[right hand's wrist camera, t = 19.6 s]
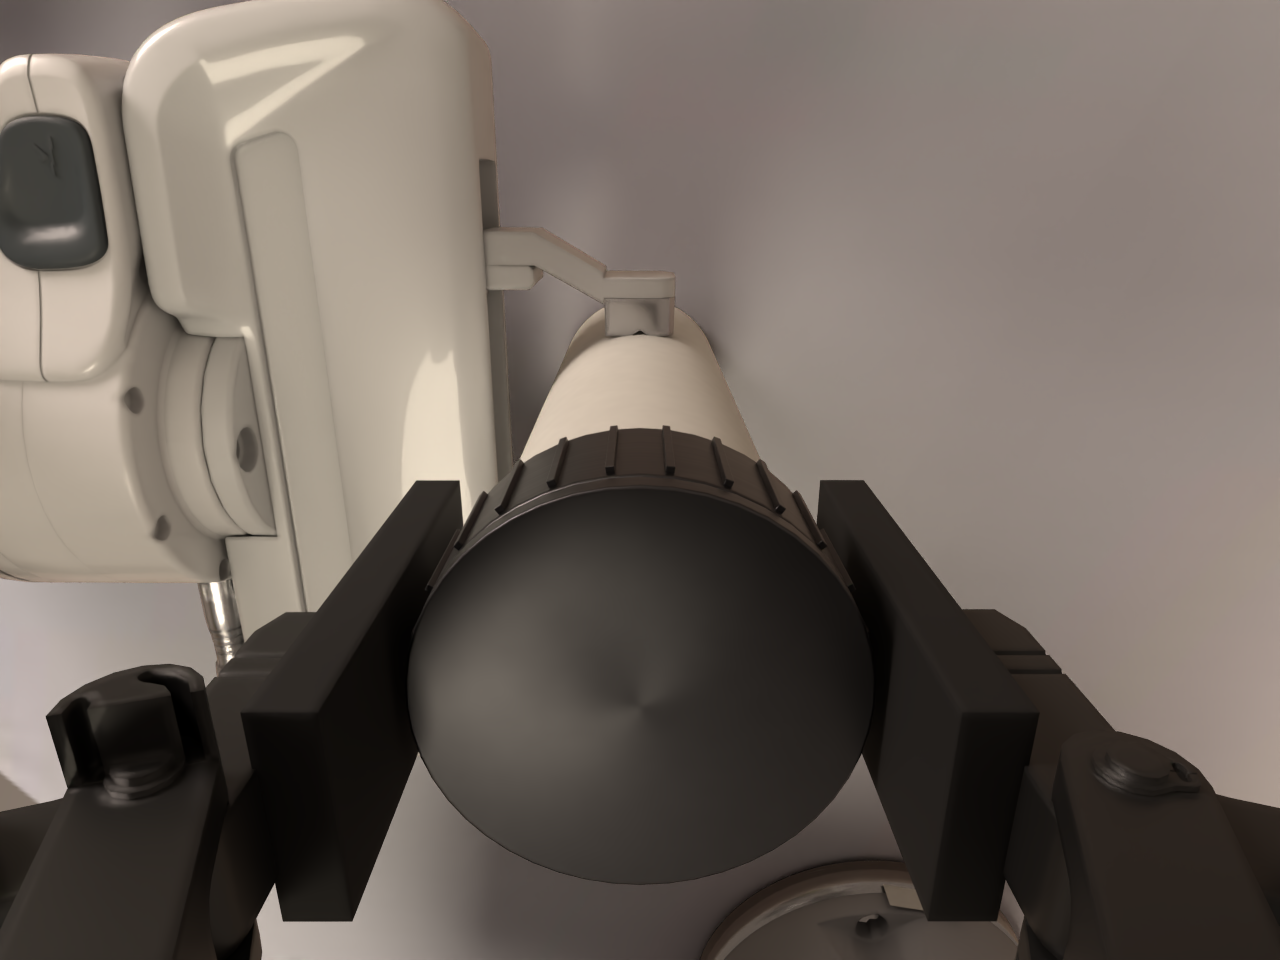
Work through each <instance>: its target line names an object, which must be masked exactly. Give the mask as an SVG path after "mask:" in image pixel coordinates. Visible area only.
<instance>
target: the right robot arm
mask: <svg viewBox="0 0 1280 960" xmlns="http://www.w3.org/2000/svg"><path fill="white" fill-rule="evenodd" d="M817 527H818V528H819V530H821V529H824V530H825V532H826V534H827V536H828V538H829V540H830V542H831V543H832V545H833V547H834V549H835V551H836V553H837V555H838V556H839V558H840V560H841V562H842V564H843V566H844V568H845V570H846V571H847V573H848V575H849V577H850V579H851V581H852V583H853V584H854V587H855V589H856V590H855V591H853V592H850V593H851V595H852V597H853V598H854V600H855V603H856V605H857V607H858V609H859V612H860V614H861V616H862V618H863V620H864V622H865V624H866V626H867V628H868V630H869V632H870V638H869V639H870V642H871V646H872V650H873V656H874V664H875V673H876V691H875V706H874V711H873V716H872V722H871V727H870V731H869V734H868V737H867V740H866V742H865V745H864V748H863V751H862V755H863V757H864V760H865V762H866V765H867V767H868V770H869V773H870V775H871V778H872V780H873V783H874V785H875V788H876V790H877V793H878V796H879V798H880V801H881V803H882V806H883V808H884V811H885V813H886V816H887V819H888V821H889V824H890V826H891V829H892V831H893V834H894V836H895V839H896V842H897V844H898V847H899V849H900V852H901V854H902V857H903V859H904V862H905V863H904V862H895V861H879V860H869V861H852V862H843V863H836V864H831V865H825V866H821V867H817V868H813V869H810V870H806V871H803V872H800V873H797V874H794V875H792V876H789V877H787V878H785V879H782V880H780V881H778V882H775V883H774V884H772V885H770V886H768V887H766V888H764V889H762V890H761V891H759V892H758V893H756V894H755V895H753V896H752V897H750V898H749V899H747V900H746V901H745V902H743V903H742V904H741V905H740V906H738V907H737V908H736V909H735V910H734V911H733V912H732V913H731V914H730V915H729V916H728V917H726V918H725V920H724V921H723V922H722V923H721V924H720V925H719V927H718V928H717V929H716V931H715V932H714V933H713V935H712V936H711V938H710V939H709V941H708V943H707V945H706V947H705V949H704V951H703V953H702V956H701V958H700V960H1280V808H1276V807H1271V806H1267V805H1262V804H1257V803H1252V802H1247V801H1243V800H1238V799H1233V798H1229V797H1225V796H1221V795H1217V794H1215V791H1214V789H1213V787H1212V786H1211V785H1210V783H1209V782H1208V781H1207V780H1206V778H1205V777H1204V776H1203V774H1202V773H1201V772H1200V771H1199V769H1197V768H1196V767H1195V766H1193V765H1192V764H1191V763H1189V762H1188V761H1187V760H1185V759H1184V758H1183V757H1181V756H1180V755H1178V754H1177V753H1176V752H1174V751H1171V750H1169V749H1167V748H1165V747H1163V746H1161V745H1159V744H1157V743H1155V742H1152V741H1150V740H1148V739H1144V738H1141V737H1137V736H1133V735H1130V734H1126V733H1123V732H1116V731H1115V730H1114V729H1113V728H1112V727H1111V726H1110V724H1109V723H1108V722H1107V721H1106V720H1105V719H1104V718H1103V716H1102V715H1101V714H1100V713H1099V712H1098V711H1097V709H1096V708H1095V707H1094V706H1093V705H1092V704H1091V703H1090V701H1089V700H1088V699H1087V698H1086V697H1085V696H1084V695H1083V693H1082V692H1081V691H1080V690H1079V689H1078V688H1077V687H1076V685H1075V684H1074V683H1073V682H1072V681H1071V680H1070V679H1069V677H1068V676H1067V675H1066V674H1062V672H1061V670H1062V669H1061V668H1060V667H1059V666H1058V665H1057V664H1056V662H1055V661H1054V660H1053V659H1052V658H1051V657H1050V656H1049V655H1046V654H1045V650H1044V649H1043V648H1042V646H1041V645H1040V644H1039V643H1038V642H1037V641H1036V640H1035V638H1034V637H1033V636H1032V635H1031V634H1030V633H1029V631H1028V630H1027V629H1026V628H1024V627H1023V626H1021V625H1019V624H1018V623H1016V622H1014V621H1013V620H1011V619H1009V618H1008V617H1006V616H1005V615H1003V614H1001V613H1000V612H998V611H996V610H995V609H961V608H960V607H959V605H958V604H957V603H956V601H955V600H954V599H953V597H952V596H951V595H950V593H949V592H948V591H947V589H946V588H945V587H944V585H943V584H942V583H941V582H940V580H939V579H938V578H937V576H936V575H935V574H934V572H933V571H932V570H931V568H930V567H929V566H928V564H927V563H926V562H925V560H924V559H923V558H922V556H921V555H920V554H919V553H918V551H917V550H916V549H915V547H914V546H913V545H912V543H911V542H910V541H909V539H908V538H907V537H906V535H905V534H904V533H903V531H902V530H901V529H900V528H899V526H898V525H897V524H896V522H895V521H894V520H893V518H892V517H891V516H890V514H889V513H888V512H887V510H886V509H885V508H884V506H883V505H882V504H881V502H880V501H879V500H878V499H877V497H876V496H875V495H874V493H873V492H872V491H871V489H870V488H869V487H868V485H867V484H866V483H865V481H864V480H820V490H819V502H818V514H817ZM462 528H463V514H462V502H461V490H460V480H416V481H415V483H414V484H413V485H412V487H411V488H410V489H409V491H408V492H407V493H406V495H405V496H404V497H403V499H402V500H401V501H400V503H399V504H398V505H397V506H396V508H395V509H394V510H393V512H392V513H391V514H390V516H389V517H388V518H387V520H386V521H385V522H384V524H383V525H382V526H381V528H380V529H379V530H378V531H377V533H376V534H375V535H374V537H373V538H372V539H371V541H370V542H369V543H368V545H367V546H366V547H365V549H364V550H363V551H362V553H361V554H360V555H359V557H358V558H357V559H356V560H355V562H354V563H353V564H352V566H351V567H350V568H349V570H348V571H347V572H346V574H345V575H344V576H343V578H342V579H341V580H340V582H339V583H338V584H337V585H336V587H335V588H334V589H333V591H332V592H331V593H330V595H329V596H328V597H327V599H326V600H325V601H324V603H323V604H322V605H321V607H320V608H319V609H318V611H317V612H285V613H283V614H282V615H280V616H279V617H277V618H275V619H274V620H272V621H270V622H269V623H267V624H266V625H264V626H262V627H261V628H259V629H257V630H256V631H254V632H253V634H252V635H251V636H250V637H249V638H248V639H247V641H246V642H245V643H244V644H243V645H242V646H241V648H240V649H239V650H238V651H237V652H236V653H235V658H231V659H230V660H229V661H228V663H227V664H226V665H225V666H224V667H223V668H222V669H221V671H220V672H219V677H215V678H214V679H213V680H212V681H211V682H210V683H209V684H208V686H207V687H206V688H205V684H204V679H203V676H201V675H200V674H199V673H197V672H196V671H195V670H193V669H192V668H190V667H185V666H179V665H173V664H161V665H146V666H140V667H136V668H132V669H128V670H123V671H119V672H115V673H112V674H110V675H107V676H105V677H102V678H100V679H97V680H95V681H93V682H90V683H88V684H85V685H84V686H82V687H80V688H79V689H77V690H76V691H74V692H73V693H71V694H69V695H68V696H66V697H65V698H63V699H61V700H60V701H59V703H58V704H57V705H56V706H55V707H54V708H53V709H52V710H51V711H50V712H49V713H48V715H47V716H46V719H47V722H48V726H49V729H50V732H51V735H52V739H53V742H54V745H55V748H56V752H57V755H58V758H59V762H60V765H61V768H62V771H63V775H64V778H65V781H66V784H67V788H68V789H67V791H66V793H65V795H64V797H63V798H61V799H58V800H54V801H50V802H45V803H40V804H36V805H31V806H26V807H21V808H17V809H12V810H7V811H2V812H0V960H261V957H262V947H261V940H260V933H259V929H258V924H257V920H256V918H257V916H258V914H259V912H260V910H261V908H262V906H263V904H264V902H265V901H266V899H267V897H268V895H269V893H270V891H271V889H272V887H273V885H274V883H275V885H276V890H277V895H278V899H279V904H280V909H281V914H282V919H283V921H353V918H354V916H355V913H356V911H357V908H358V906H359V903H360V900H361V898H362V895H363V893H364V890H365V888H366V885H367V882H368V880H369V877H370V875H371V872H372V870H373V867H374V865H375V862H376V859H377V857H378V854H379V852H380V849H381V847H382V844H383V842H384V839H385V836H386V834H387V831H388V829H389V826H390V824H391V821H392V819H393V816H394V813H395V811H396V808H397V806H398V803H399V801H400V798H401V796H402V793H403V790H404V788H405V785H406V783H407V780H408V778H409V775H410V773H411V770H412V767H413V765H414V762H415V760H416V757H417V755H418V752H419V751H418V748H417V746H416V743H415V740H414V737H413V734H412V732H411V727H410V722H409V717H408V712H407V707H406V693H405V673H406V664H407V655H408V650H409V646H410V642H411V632H412V630H413V628H414V626H415V624H416V622H417V620H418V618H419V616H420V614H421V612H422V609H423V607H424V605H425V603H426V600H427V598H428V597H429V595H430V593H429V592H427V591H425V589H426V586H427V584H428V582H429V581H430V579H431V577H432V575H433V573H434V571H435V569H436V567H437V566H438V564H439V562H440V560H441V558H442V556H443V554H444V552H445V551H446V549H447V547H448V545H449V543H450V541H451V539H452V537H453V536H454V534H455V532H456V530H457V529H459V530H462ZM1005 880H1006V881H1007V883H1008V885H1009V887H1010V889H1011V891H1012V893H1013V894H1014V896H1015V898H1016V900H1017V902H1018V904H1019V906H1020V908H1021V910H1022V911H1023V913H1024V920H1023V924H1022V929H1021V933H1020V938H1019V941H1018V939H1017V937H1016V935H1015V933H1014V931H1013V929H1012V927H1011V926H1010V924H1009V922H1008V920H1007V919H1006V917H1005V916H1004V915H1003V914H1002V912H1001V911H1000V910H999V909H1000V904H1001V900H1002V895H1003V890H1004V885H1005Z"/></svg>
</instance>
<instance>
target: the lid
mask: <svg viewBox="0 0 1280 960" xmlns="http://www.w3.org/2000/svg"><path fill="white" fill-rule="evenodd" d="M855 590H856V589H855V587H854V584H853V583H852V581H851V579H850V577H849V575H848V573H847V571H846V570H845V568H844V566H843V564H842V562H841V560H840V558H839V556H838V555H837V553H836V551H835V549H834V547H833V545H832V543H831V542H830V540H829V538H828V536H827V534H826V532H825V530H824V529H821V530H819V528H818V527H817V525H816V523H815V521H814V519H813V517H812V515H811V513H810V511H809V509H808V507H807V505H806V504H805V502H804V500H803V498H802V496H801V494H800V493H799V492H798V491H797V490H796V491H795V492H794V493H792V492H791V491H790V490H789V489H788V488H787V487H786V485H784V484H783V483H782V482H781V481H780V480H779V479H778V478H776V477H775V476H774V475H773V474H772V473H771V472H769V470H768V468H767V465H766V463H765V462H764V461H762V460H761V459H759V460H758V461H757V462H755V461H754V460H752V459H750V458H749V457H747V456H746V455H744V454H742V453H740V452H738V451H736V450H734V449H732V448H730V447H728V446H725V445H723V444H722V442H721V439H720V438H717V437H713V439H712V440H709V439H706V438H703V437H700V436H697V435H694V434H688V433H683V432H678V431H673V430H671V429H670V426H666V425H663V426H662V429H650V428H630V429H618V426H617V425H615V426H610V430H608V431H603V432H598V433H593V434H587V435H584V436H581V437H578V438H574V439H571V440H568V439H567V437H564V438H561V439H560V440H559V443H558V444H557V445H555V446H553V447H551V448H549V449H547V450H545V451H543V452H541V453H539V454H537V455H535V456H533V457H532V458H530V459H529V460H527V461H526V462H523V461H522V460H521V459H520V460H518V461H517V462H516V463H515V464H514V466H513V469H512V471H511V472H510V473H509V474H508V475H507V476H506V477H504V478H503V479H502V480H501V481H500V482H499V483H498V484H496V485H495V486H494V487H493V488H492V490H491V491H490V492H489V493H488V494H487V493H486V492H485V491H483V492H482V493H481V494H480V495H479V497H478V499H477V501H476V503H475V505H474V507H473V509H472V511H471V513H470V514H469V516H468V518H467V520H466V522H465V524H464V526H463V528H462V530H459V529H457V530H456V532H455V534H454V536H453V537H452V539H451V541H450V543H449V545H448V547H447V549H446V551H445V552H444V554H443V556H442V558H441V560H440V562H439V564H438V566H437V567H436V569H435V571H434V573H433V575H432V577H431V579H430V581H429V582H428V584H427V586H426V589H425V591H427V592H429V593H430V595H429V597H428V598H427V600H426V603H425V605H424V607H423V609H422V612H421V614H420V616H419V618H418V620H417V622H416V624H415V626H414V628H413V630H412V632H411V642H410V646H409V650H408V655H407V664H406V673H405V693H406V707H407V712H408V717H409V722H410V727H411V732H412V734H413V737H414V740H415V743H416V746H417V748H418V751H419V754H420V756H421V758H422V760H423V762H424V764H425V766H426V768H427V770H428V771H429V773H430V775H431V777H432V779H433V780H434V782H435V783H436V784H437V786H438V787H439V789H440V790H441V791H442V793H443V794H444V795H445V797H446V798H447V800H448V801H449V802H450V803H451V804H452V805H453V806H454V807H455V808H456V809H457V810H458V811H459V812H460V813H461V815H462V816H463V817H464V818H465V819H466V820H468V821H469V822H470V823H471V824H472V825H474V826H475V827H476V828H477V829H478V830H480V831H481V832H482V833H483V834H484V835H486V836H487V837H489V838H490V839H492V840H493V841H495V842H496V843H498V844H499V845H501V846H502V847H504V848H505V849H507V850H509V851H510V852H512V853H514V854H516V855H518V856H520V857H522V858H524V859H526V860H528V861H530V862H532V863H535V864H538V865H540V866H543V867H546V868H548V869H551V870H554V871H557V872H559V873H563V874H567V875H571V876H575V877H579V878H583V879H587V880H594V881H601V882H607V883H616V884H637V885H644V884H664V883H673V882H680V881H686V880H693V879H698V878H702V877H706V876H710V875H713V874H717V873H721V872H724V871H727V870H730V869H732V868H735V867H738V866H740V865H743V864H746V863H748V862H750V861H752V860H754V859H756V858H758V857H760V856H762V855H764V854H766V853H768V852H770V851H772V850H774V849H775V848H777V847H778V846H780V845H781V844H783V843H785V842H786V841H788V840H789V839H791V838H792V837H794V836H795V835H796V834H798V833H799V832H800V831H801V830H802V829H804V828H805V827H806V826H807V825H808V824H810V823H811V822H812V821H813V820H814V819H816V818H817V816H818V815H819V814H820V813H821V812H822V811H823V810H824V809H825V808H826V807H827V806H828V805H829V804H830V803H831V802H832V800H833V799H834V798H835V797H836V795H837V794H838V792H839V791H840V790H841V788H842V787H843V785H844V784H845V783H846V781H847V780H848V779H849V777H850V775H851V773H852V771H853V769H854V767H855V765H856V764H857V762H858V760H859V758H860V756H861V754H862V751H863V748H864V745H865V742H866V740H867V737H868V734H869V731H870V727H871V722H872V716H873V711H874V706H875V691H876V673H875V664H874V656H873V650H872V646H871V642H870V639H869V638H870V632H869V630H868V628H867V626H866V624H865V622H864V620H863V618H862V616H861V614H860V612H859V609H858V607H857V605H856V603H855V600H854V598H853V597H852V595H851V593H850V592H853V591H855Z"/></svg>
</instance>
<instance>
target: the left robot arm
mask: <svg viewBox="0 0 1280 960" xmlns="http://www.w3.org/2000/svg"><path fill="white" fill-rule="evenodd" d="M543 270H544V271H545V272H547V273H549V274H551V275H552V276H554V277H556V278H558V279H559V280H561V281H563V282H565V283H567V284H568V285H570V286H572V287H574V288H575V289H577V290H579V291H581V292H582V293H584V294H586V295H588V296H590V297H591V298H593V299H595V300H597V301H598V302H600V303H602V304H603V302H604V306H605V336H629V335H634V334H635V333H637V332H638V331H639V330H640V331H642V332H643V333H645V334H646V335H650V336H669V335H673V334H674V309H675V275H674V273H673V272H665V271H607V270H606V265H604V264H602V263H601V262H599V261H597V260H596V259H594V258H592V257H591V256H589V255H587V254H586V253H584V252H582V251H581V250H579V249H577V248H576V247H574V246H572V245H571V244H569V243H567V242H565V241H564V240H562V239H560V238H559V237H557V236H555V235H554V234H552V233H550V232H549V231H547V230H545V229H544V228H524V227H500V213H499V194H498V175H497V156H496V138H495V119H494V100H493V82H492V64H491V56H490V51H489V49H488V46H487V45H486V43H485V41H484V40H483V39H482V38H481V37H480V36H479V34H478V33H477V32H476V31H475V30H474V29H473V27H472V26H471V25H470V24H469V23H468V22H467V20H465V19H464V18H463V17H462V16H461V15H460V14H459V13H458V12H457V11H456V10H455V9H453V8H452V7H451V6H449V5H448V4H447V3H445V2H444V1H443V0H252V1H246V2H240V3H234V4H229V5H223V6H218V7H213V8H209V9H205V10H201V11H197V12H193V13H190V14H187V15H185V16H182V17H179V18H177V19H175V20H173V21H171V22H169V23H167V24H165V25H164V26H162V27H161V28H159V29H157V30H156V31H155V32H154V33H152V34H151V35H150V36H149V37H148V38H147V39H146V40H145V41H144V42H143V43H142V44H141V46H140V47H139V48H138V50H137V51H136V52H135V54H134V56H133V58H132V60H131V61H126V60H121V59H115V58H108V57H99V56H89V55H77V54H25V55H18V56H14V57H11V58H9V59H7V60H5V61H4V62H3V63H2V64H1V65H0V578H3V579H9V580H16V581H24V582H111V583H198V588H199V593H200V598H201V603H202V607H203V612H204V616H205V620H206V623H207V626H208V629H209V632H210V634H211V636H212V640H213V642H214V646H215V650H216V655H217V661H216V674H217V677H219V672H220V671H221V669H222V668H223V667H224V666H225V665H226V664H227V663H228V661H229V660H230V659H231V658H235V653H236V652H237V651H238V650H239V649H240V648H241V646H242V645H243V644H244V643H245V642H246V641H247V639H248V638H249V637H250V636H251V635H252V634H253V632H254V631H256V630H257V629H259V628H261V627H262V626H264V625H266V624H267V623H269V622H270V621H272V620H274V619H275V618H277V617H279V616H280V615H282V614H283V613H285V612H317V611H318V609H319V608H320V607H321V605H322V604H323V603H324V601H325V600H326V599H327V597H328V596H329V595H330V593H331V592H332V591H333V589H334V588H335V587H336V585H337V584H338V583H339V582H340V580H341V579H342V578H343V576H344V575H345V574H346V572H347V571H348V570H349V568H350V567H351V566H352V564H353V563H354V562H355V560H356V559H357V558H358V557H359V555H360V554H361V553H362V551H363V550H364V549H365V547H366V546H367V545H368V543H369V542H370V541H371V539H372V538H373V537H374V535H375V534H376V533H377V531H378V530H379V529H380V528H381V526H382V525H383V524H384V522H385V521H386V520H387V518H388V517H389V516H390V514H391V513H392V512H393V510H394V509H395V508H396V506H397V505H398V504H399V503H400V501H401V500H402V499H403V497H404V496H405V495H406V493H407V492H408V491H409V489H410V488H411V487H412V485H413V484H414V483H415V481H416V480H460V490H461V502H462V514H463V526H464V524H465V522H466V520H467V518H468V516H469V514H470V513H471V511H472V509H473V507H474V505H475V503H476V501H477V499H478V497H479V495H480V494H481V493H482V492H483V491H485V492H486V493H487V494H488V493H489V492H490V491H491V490H492V488H493V487H494V486H495V485H496V484H498V483H499V482H500V481H501V480H502V479H503V478H504V477H506V476H507V475H508V474H509V473H510V472H511V471H512V469H513V456H512V437H511V419H510V400H509V381H508V362H507V344H506V325H505V306H504V290H530V289H531V288H532V287H533V286H534V285H535V284H536V283H537V282H538V281H539V280H540V279H541V278H542V277H543ZM417 756H420V754H419V752H418V755H417Z"/></svg>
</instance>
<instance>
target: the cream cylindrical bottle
mask: <svg viewBox="0 0 1280 960" xmlns="http://www.w3.org/2000/svg"><path fill="white" fill-rule="evenodd" d="M615 425H617V426H618V429H630V428H650V429H662V426H663V425H666V426H670V429H671V430H673V431H678V432H683V433H688V434H694V435H697V436H700V437H703V438H706V439H709V440H712V439H713V437H717V438H720V439H721V442H722V444H723V445H725V446H728V447H730V448H732V449H734V450H736V451H738V452H740V453H742V454H744V455H746V456H747V457H749V458H750V459H752V460H754V461H755V462H757V461H758V460H759V459H760V457H759V455H758V453H757V451H756V448H755V446H754V444H753V441H752V439H751V437H750V435H749V432H748V430H747V428H746V426H745V423H744V421H743V419H742V417H741V414H740V412H739V410H738V407H737V405H736V403H735V401H734V398H733V396H732V394H731V392H730V389H729V387H728V385H727V383H726V380H725V378H724V376H723V374H722V371H721V369H720V367H719V364H718V362H717V360H716V358H715V355H714V353H713V351H712V349H711V346H710V344H709V342H708V340H707V338H706V336H705V334H704V333H703V331H702V330H701V329H700V327H699V326H698V325H697V324H696V322H695V321H693V320H692V319H691V318H690V317H689V316H688V315H687V314H685V313H684V312H683V311H681V310H680V309H678V308H676V307H675V309H674V334H673V335H669V336H650V335H646V334H645V333H643V332H642V331H640V330H639V331H638V332H637V333H635V334H634V335H629V336H605V307H604V308H602V309H600V310H599V311H597V312H596V313H594V314H593V315H592V316H591V317H590V318H588V319H587V320H586V321H585V322H584V324H583V325H582V326H581V327H580V328H579V330H578V331H577V333H576V334H575V336H574V338H573V340H572V342H571V344H570V346H569V348H568V350H567V353H566V355H565V357H564V360H563V362H562V364H561V366H560V369H559V371H558V373H557V376H556V378H555V380H554V382H553V385H552V387H551V389H550V391H549V394H548V396H547V398H546V401H545V403H544V405H543V407H542V410H541V412H540V414H539V417H538V419H537V421H536V423H535V426H534V428H533V430H532V433H531V435H530V437H529V439H528V442H527V444H526V446H525V448H524V451H523V453H522V455H521V458H520V459H521V460H522V461H523V462H526V461H527V460H529V459H530V458H532V457H533V456H535V455H537V454H539V453H541V452H543V451H545V450H547V449H549V448H551V447H553V446H555V445H557V444H558V443H559V440H560V439H561V438H564V437H567V439H568V440H571V439H574V438H578V437H581V436H584V435H587V434H593V433H598V432H603V431H608V430H610V426H615Z"/></svg>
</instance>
